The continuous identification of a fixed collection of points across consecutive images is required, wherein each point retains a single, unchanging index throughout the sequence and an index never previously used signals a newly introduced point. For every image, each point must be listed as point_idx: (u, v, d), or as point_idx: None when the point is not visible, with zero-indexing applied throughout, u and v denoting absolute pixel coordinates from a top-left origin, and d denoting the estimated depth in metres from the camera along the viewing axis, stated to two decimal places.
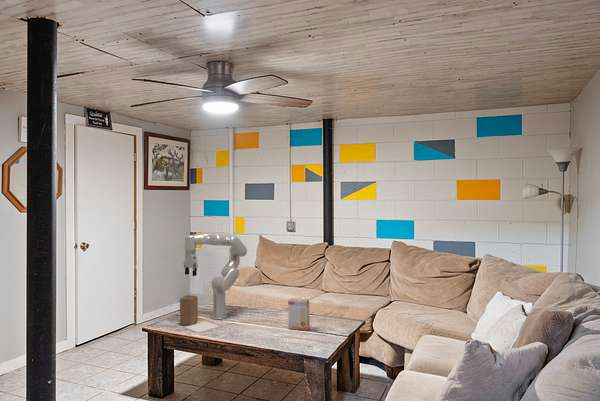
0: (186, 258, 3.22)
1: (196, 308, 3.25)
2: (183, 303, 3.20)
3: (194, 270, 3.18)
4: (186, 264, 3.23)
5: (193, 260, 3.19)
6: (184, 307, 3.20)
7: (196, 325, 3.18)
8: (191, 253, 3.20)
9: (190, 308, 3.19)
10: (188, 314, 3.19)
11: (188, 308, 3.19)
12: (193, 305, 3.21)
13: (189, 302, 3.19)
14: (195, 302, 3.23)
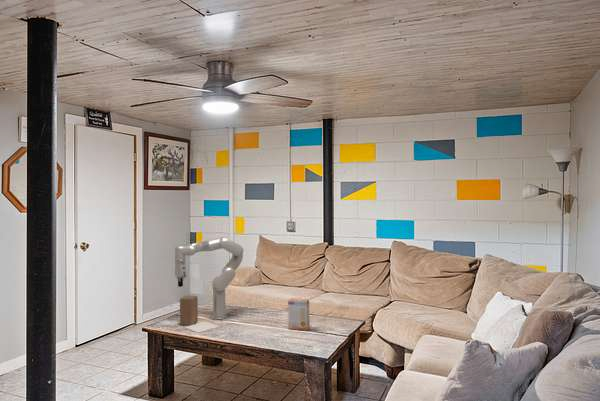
0: (176, 268, 3.31)
1: (196, 308, 3.25)
2: (183, 303, 3.20)
3: (180, 281, 3.30)
4: (176, 274, 3.31)
5: (182, 270, 3.28)
6: (184, 307, 3.20)
7: (196, 325, 3.18)
8: (180, 263, 3.28)
9: (190, 308, 3.19)
10: (188, 314, 3.19)
11: (188, 308, 3.19)
12: (193, 305, 3.21)
13: (189, 302, 3.19)
14: (195, 302, 3.24)
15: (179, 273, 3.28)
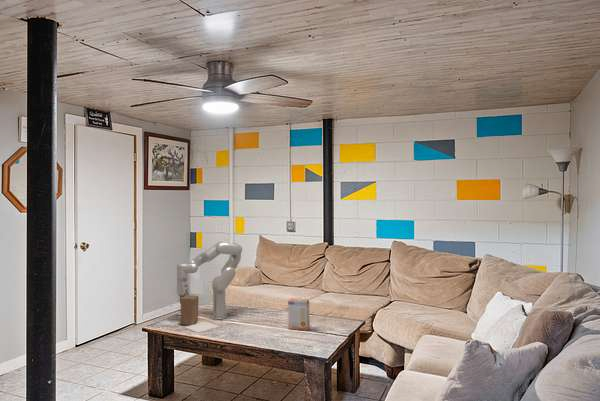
0: (178, 285, 3.29)
1: (197, 308, 3.25)
2: (184, 303, 3.19)
3: None
4: (178, 292, 3.30)
5: (184, 288, 3.26)
6: (185, 307, 3.19)
7: (196, 325, 3.18)
8: (182, 281, 3.27)
9: (191, 308, 3.18)
10: (188, 314, 3.19)
11: (189, 308, 3.19)
12: (194, 305, 3.21)
13: (190, 302, 3.19)
14: (196, 302, 3.23)
15: (181, 291, 3.27)
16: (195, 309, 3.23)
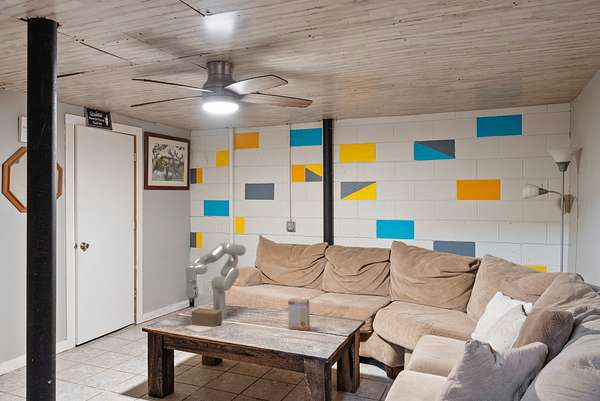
0: (187, 288, 3.20)
1: None
2: (210, 317, 3.14)
3: (192, 301, 3.20)
4: (187, 294, 3.21)
5: (194, 291, 3.17)
6: (207, 318, 3.15)
7: (196, 325, 3.18)
8: (192, 283, 3.18)
9: (206, 324, 3.15)
10: (201, 321, 3.16)
11: (206, 322, 3.15)
12: None
13: (212, 323, 3.13)
14: None
15: (190, 293, 3.18)
16: None
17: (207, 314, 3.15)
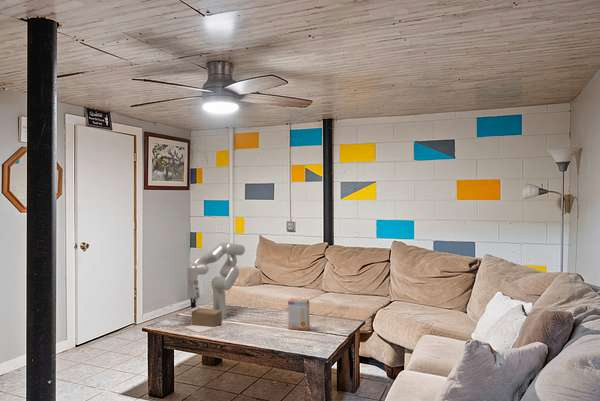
0: (189, 288, 3.19)
1: None
2: (210, 317, 3.14)
3: (193, 302, 3.18)
4: (188, 295, 3.20)
5: (195, 291, 3.16)
6: (207, 318, 3.15)
7: (196, 325, 3.18)
8: (193, 284, 3.16)
9: (206, 324, 3.15)
10: (201, 321, 3.16)
11: (206, 322, 3.15)
12: None
13: (212, 323, 3.13)
14: None
15: (192, 294, 3.16)
16: None
17: (207, 314, 3.15)
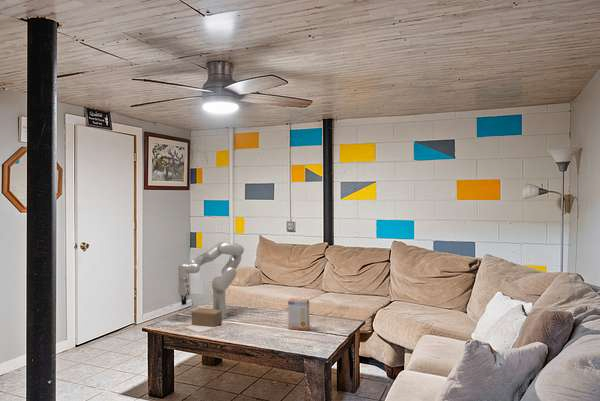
0: (179, 286, 3.28)
1: None
2: (210, 317, 3.14)
3: (184, 299, 3.27)
4: (179, 292, 3.28)
5: (186, 288, 3.25)
6: (207, 318, 3.15)
7: (196, 325, 3.18)
8: (184, 281, 3.25)
9: (206, 324, 3.15)
10: (201, 321, 3.16)
11: (206, 322, 3.15)
12: None
13: (212, 323, 3.13)
14: None
15: (183, 291, 3.25)
16: None
17: (207, 314, 3.15)
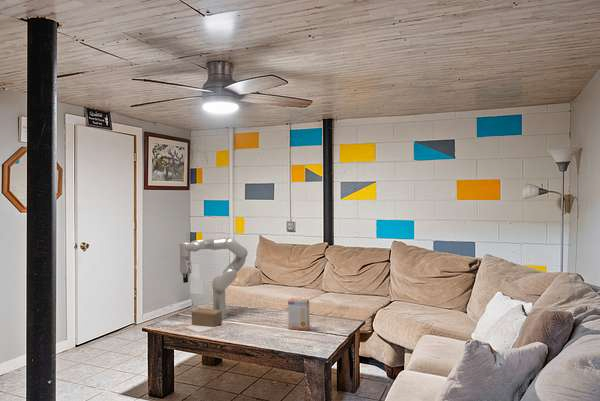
0: (181, 264, 3.31)
1: None
2: (210, 317, 3.14)
3: (185, 277, 3.31)
4: (181, 270, 3.32)
5: (187, 266, 3.28)
6: (207, 318, 3.15)
7: (196, 325, 3.18)
8: (185, 259, 3.29)
9: (206, 324, 3.15)
10: (201, 321, 3.16)
11: (206, 322, 3.15)
12: None
13: (212, 323, 3.13)
14: None
15: (184, 269, 3.29)
16: None
17: (207, 314, 3.15)
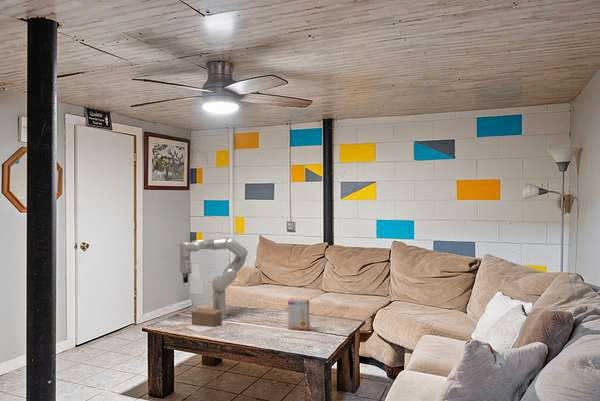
0: (181, 264, 3.31)
1: None
2: (210, 317, 3.14)
3: (185, 277, 3.31)
4: (181, 270, 3.32)
5: (187, 266, 3.28)
6: (207, 318, 3.15)
7: (196, 325, 3.18)
8: (185, 259, 3.29)
9: (206, 324, 3.15)
10: (201, 321, 3.16)
11: (206, 322, 3.15)
12: None
13: (212, 323, 3.13)
14: None
15: (184, 269, 3.29)
16: None
17: (207, 314, 3.15)
